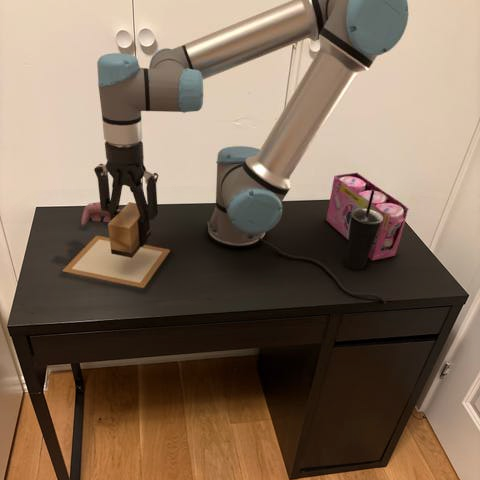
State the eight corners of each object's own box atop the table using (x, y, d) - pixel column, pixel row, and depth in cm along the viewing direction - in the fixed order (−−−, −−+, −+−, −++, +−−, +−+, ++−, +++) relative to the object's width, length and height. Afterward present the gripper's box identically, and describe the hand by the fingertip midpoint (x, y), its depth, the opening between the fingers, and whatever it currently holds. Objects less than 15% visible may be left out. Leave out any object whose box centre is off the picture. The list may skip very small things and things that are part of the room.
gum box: (399, 258, 132) (414, 211, 123) (374, 264, 129) (387, 216, 120) (347, 216, 148) (357, 171, 139) (324, 220, 145) (333, 175, 137)
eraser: (151, 234, 121) (149, 205, 116) (132, 258, 113) (129, 228, 108) (131, 230, 122) (129, 201, 117) (111, 253, 113) (107, 223, 109)
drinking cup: (372, 260, 130) (391, 187, 117) (368, 276, 124) (388, 201, 112) (342, 253, 132) (358, 181, 119) (337, 268, 126) (353, 194, 113)
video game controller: (121, 230, 137) (122, 204, 135) (116, 231, 132) (117, 204, 131) (85, 227, 137) (86, 200, 136) (79, 227, 133) (80, 200, 131)
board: (170, 253, 127) (170, 249, 126) (144, 292, 114) (143, 287, 113) (96, 239, 130) (96, 235, 129) (62, 275, 117) (61, 270, 116)
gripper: (172, 141, 103) (174, 240, 118) (91, 128, 106) (102, 226, 121) (159, 154, 98) (162, 257, 113) (73, 140, 101) (87, 242, 115)
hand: (131, 241), depth 117 cm, fingers closed on eraser, 5 cm apart
